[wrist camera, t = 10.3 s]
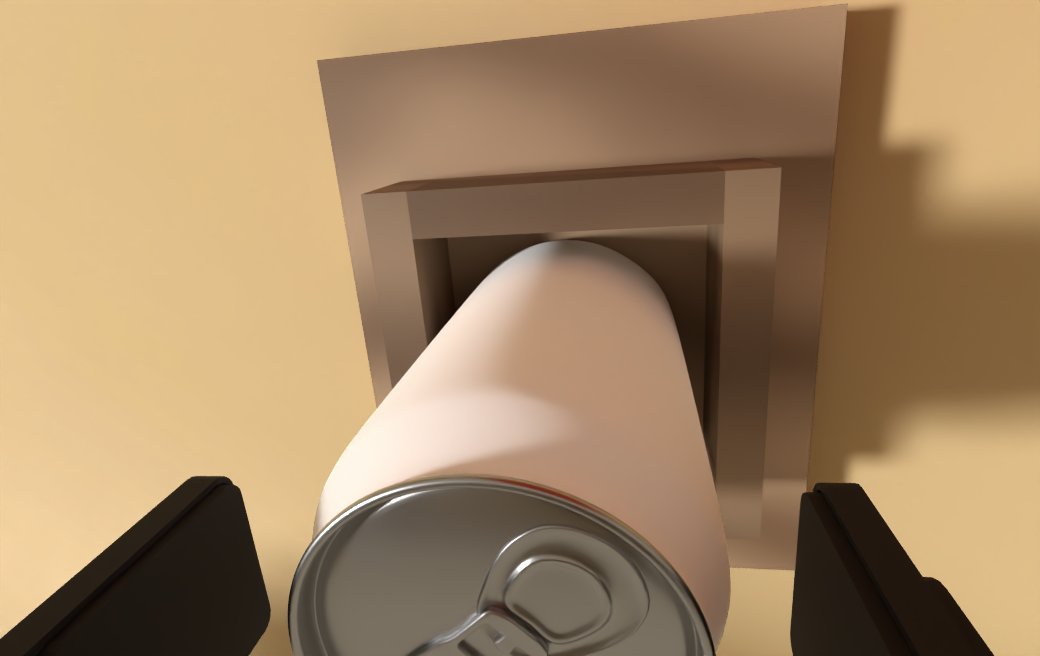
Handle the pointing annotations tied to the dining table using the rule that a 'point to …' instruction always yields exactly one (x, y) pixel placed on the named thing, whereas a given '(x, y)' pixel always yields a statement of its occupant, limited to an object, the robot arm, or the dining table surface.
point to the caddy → (617, 208)
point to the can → (526, 484)
